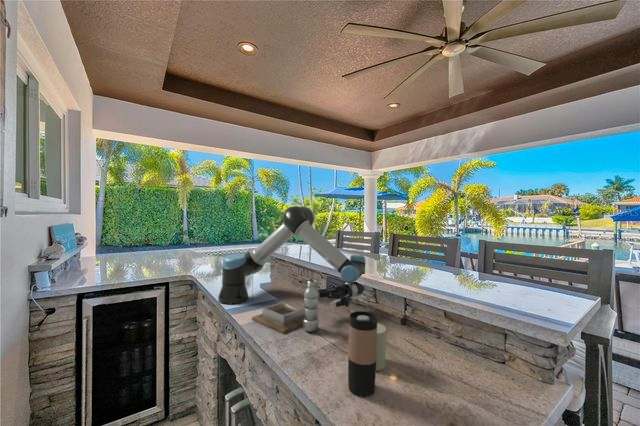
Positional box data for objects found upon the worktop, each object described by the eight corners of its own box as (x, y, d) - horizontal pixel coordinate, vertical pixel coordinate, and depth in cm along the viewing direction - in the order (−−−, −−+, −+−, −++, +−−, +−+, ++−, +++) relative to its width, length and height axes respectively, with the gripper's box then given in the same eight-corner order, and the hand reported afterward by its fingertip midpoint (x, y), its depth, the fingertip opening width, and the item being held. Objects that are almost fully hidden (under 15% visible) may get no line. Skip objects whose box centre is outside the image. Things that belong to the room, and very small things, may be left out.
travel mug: (345, 380, 80) (347, 310, 79) (371, 379, 80) (373, 310, 80) (350, 398, 72) (352, 321, 72) (379, 397, 73) (381, 321, 72)
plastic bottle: (320, 328, 114) (322, 279, 114) (315, 335, 108) (316, 283, 108) (306, 325, 116) (307, 278, 116) (300, 332, 110) (301, 282, 110)
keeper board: (285, 308, 136) (285, 305, 136) (316, 319, 123) (316, 316, 123) (251, 320, 121) (251, 317, 121) (283, 334, 108) (283, 331, 108)
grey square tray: (283, 309, 131) (284, 301, 131) (304, 317, 122) (305, 308, 122) (262, 317, 121) (262, 308, 121) (283, 326, 113) (283, 316, 112)
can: (383, 356, 93) (384, 321, 93) (387, 372, 84) (388, 333, 84) (355, 354, 94) (356, 319, 94) (356, 370, 85) (357, 331, 85)
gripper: (369, 305, 122) (341, 319, 106) (325, 293, 138) (295, 304, 122) (369, 288, 122) (342, 300, 106) (325, 278, 138) (295, 287, 122)
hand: (316, 302), depth 114 cm, fingers open, 13 cm apart
